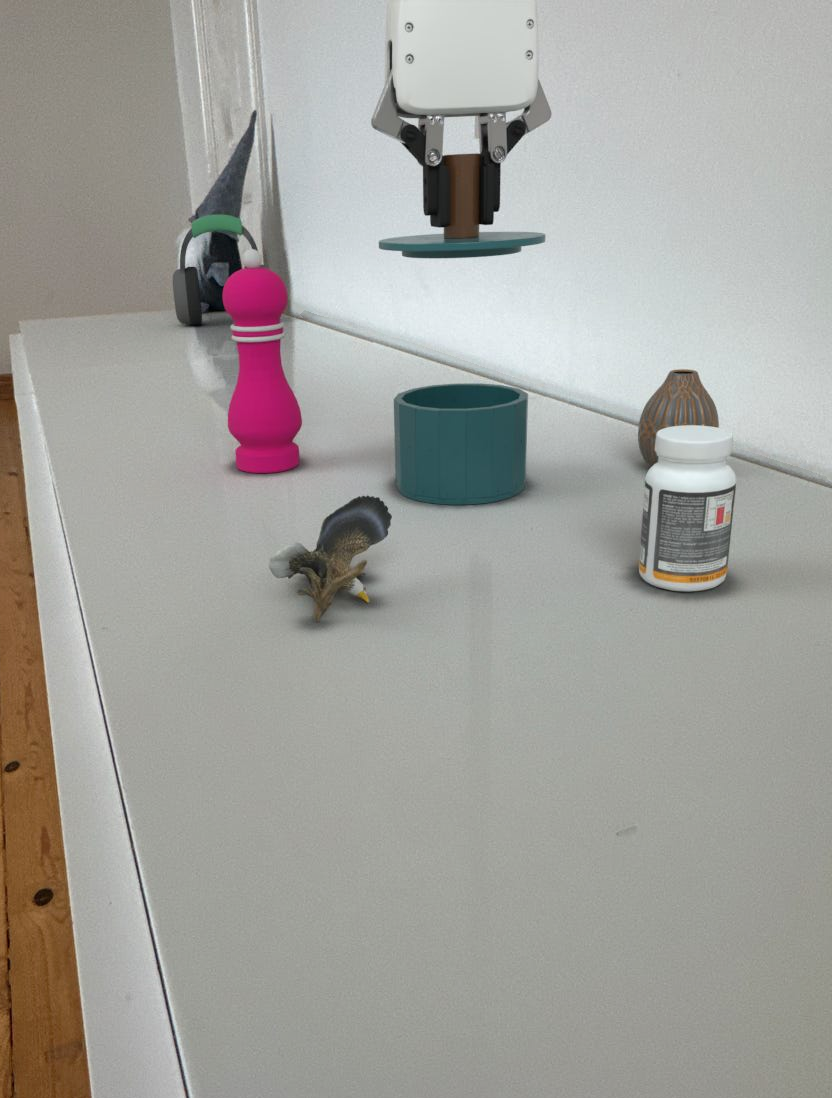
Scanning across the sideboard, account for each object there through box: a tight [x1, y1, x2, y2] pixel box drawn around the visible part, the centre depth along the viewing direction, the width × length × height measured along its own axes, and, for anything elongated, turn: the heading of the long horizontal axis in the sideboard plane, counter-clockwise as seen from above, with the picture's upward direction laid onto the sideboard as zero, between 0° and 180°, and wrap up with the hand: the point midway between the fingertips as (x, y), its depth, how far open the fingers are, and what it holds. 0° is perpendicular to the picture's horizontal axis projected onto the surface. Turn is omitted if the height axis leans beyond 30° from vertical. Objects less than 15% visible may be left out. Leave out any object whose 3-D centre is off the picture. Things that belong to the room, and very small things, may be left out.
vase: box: [637, 368, 720, 468], centre depth 90 cm, size 7×7×9 cm
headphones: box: [172, 213, 269, 326], centre depth 195 cm, size 19×11×20 cm, turn 97°
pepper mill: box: [222, 248, 303, 474], centre depth 95 cm, size 7×7×20 cm
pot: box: [393, 382, 529, 506], centre depth 88 cm, size 11×11×8 cm
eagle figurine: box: [268, 495, 393, 623], centre depth 66 cm, size 8×7×9 cm
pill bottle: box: [638, 425, 737, 592], centre depth 65 cm, size 6×6×10 cm
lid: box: [378, 152, 547, 259], centre depth 73 cm, size 12×12×7 cm
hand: (461, 222), depth 73 cm, fingers closed on lid, 2 cm apart
